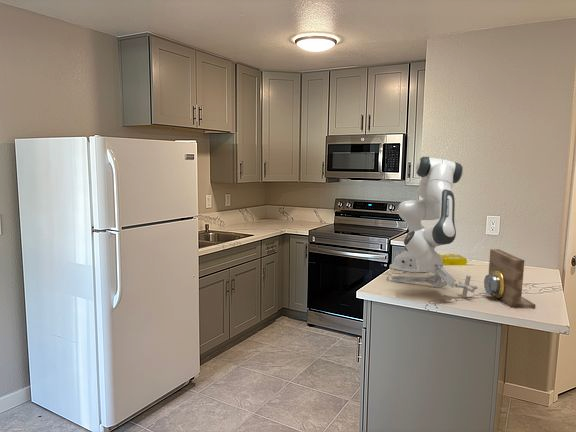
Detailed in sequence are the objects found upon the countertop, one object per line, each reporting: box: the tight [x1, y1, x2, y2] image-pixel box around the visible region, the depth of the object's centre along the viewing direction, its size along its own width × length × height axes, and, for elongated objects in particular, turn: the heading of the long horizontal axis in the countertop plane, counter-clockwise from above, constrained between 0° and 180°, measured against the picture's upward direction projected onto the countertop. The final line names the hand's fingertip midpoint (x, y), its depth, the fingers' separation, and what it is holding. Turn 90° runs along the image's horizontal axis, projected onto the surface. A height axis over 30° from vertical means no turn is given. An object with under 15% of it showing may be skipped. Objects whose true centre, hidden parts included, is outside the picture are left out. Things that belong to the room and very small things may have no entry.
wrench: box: [386, 273, 449, 289], centre depth 214 cm, size 8×2×30 cm
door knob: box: [483, 271, 505, 299], centre depth 194 cm, size 5×12×12 cm, turn 177°
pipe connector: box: [454, 274, 479, 299], centre depth 194 cm, size 10×10×10 cm
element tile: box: [438, 252, 468, 266], centre depth 268 cm, size 15×15×5 cm
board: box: [487, 248, 536, 309], centre depth 193 cm, size 10×24×20 cm, turn 177°
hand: (453, 286), depth 194 cm, fingers closed, pressing on pipe connector
